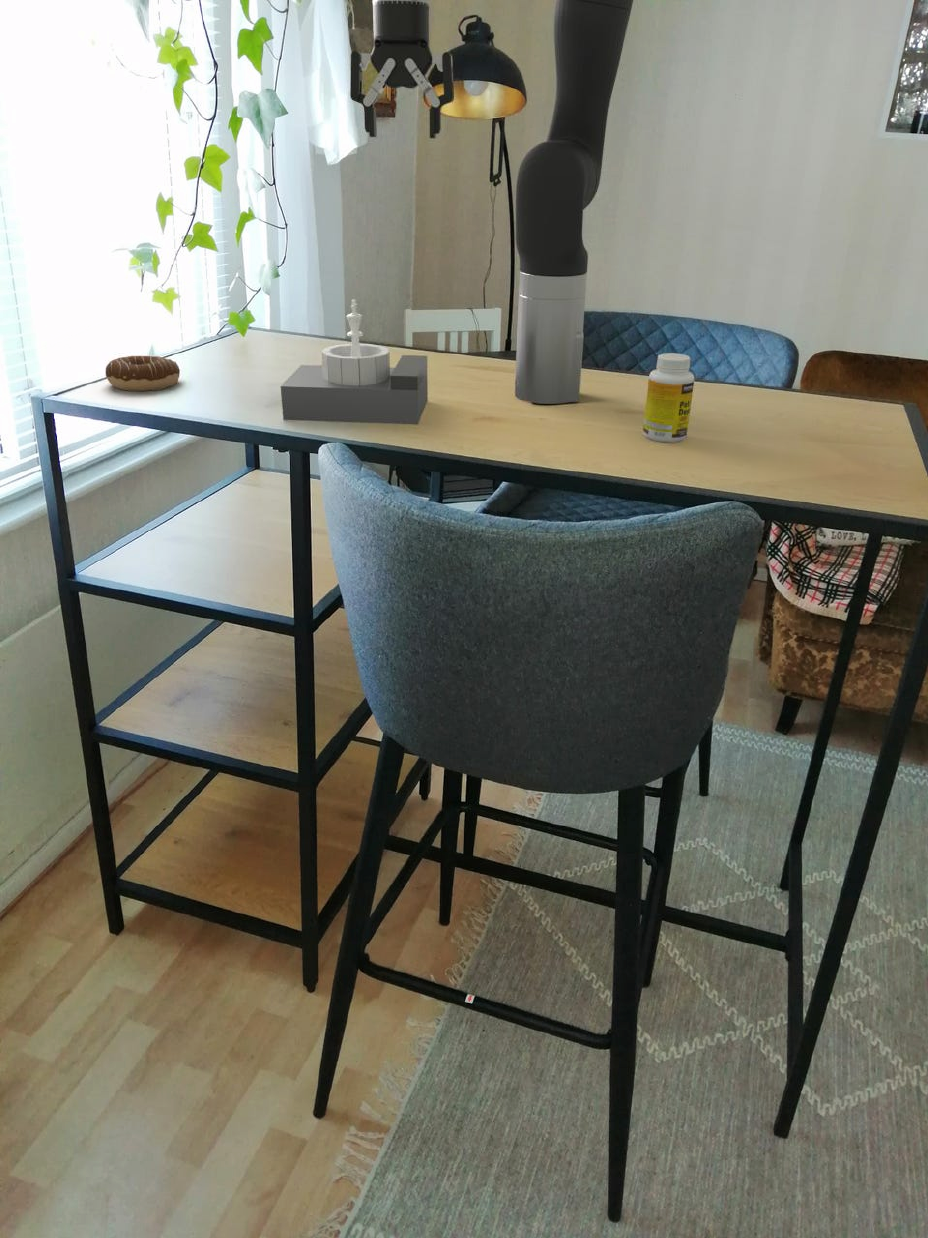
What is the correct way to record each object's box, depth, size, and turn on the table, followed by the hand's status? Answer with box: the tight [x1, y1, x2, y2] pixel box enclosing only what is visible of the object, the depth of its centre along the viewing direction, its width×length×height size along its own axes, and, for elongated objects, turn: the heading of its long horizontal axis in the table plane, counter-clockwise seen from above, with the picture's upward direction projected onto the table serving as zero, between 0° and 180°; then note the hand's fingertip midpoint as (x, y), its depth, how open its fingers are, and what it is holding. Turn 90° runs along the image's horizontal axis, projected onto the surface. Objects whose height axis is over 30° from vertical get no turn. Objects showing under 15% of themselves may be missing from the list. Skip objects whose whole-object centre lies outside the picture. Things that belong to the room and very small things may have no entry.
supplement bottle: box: [642, 352, 695, 443], centre depth 116 cm, size 6×6×10 cm
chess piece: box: [346, 299, 364, 357], centre depth 124 cm, size 5×5×10 cm
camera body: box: [280, 343, 429, 425], centre depth 126 cm, size 18×12×8 cm, turn 86°
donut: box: [105, 355, 181, 392], centre depth 138 cm, size 11×11×4 cm
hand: (403, 137), depth 132 cm, fingers open, 8 cm apart
